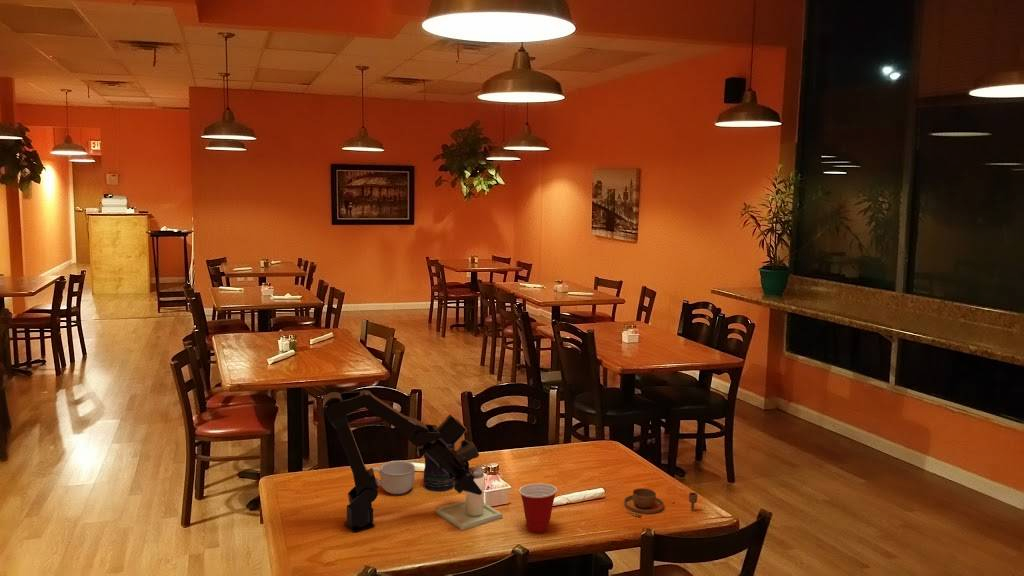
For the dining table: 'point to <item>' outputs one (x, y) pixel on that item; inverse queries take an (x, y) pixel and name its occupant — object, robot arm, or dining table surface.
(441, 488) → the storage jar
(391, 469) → the teacup
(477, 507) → the salt shaker
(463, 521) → the tray
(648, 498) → the place setting
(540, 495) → the plastic cup
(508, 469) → the dining table surface
